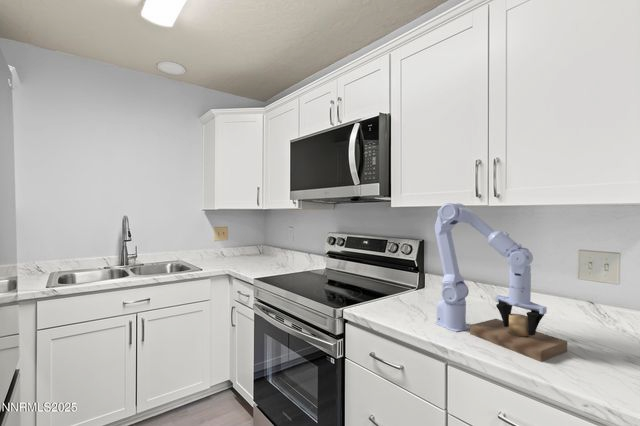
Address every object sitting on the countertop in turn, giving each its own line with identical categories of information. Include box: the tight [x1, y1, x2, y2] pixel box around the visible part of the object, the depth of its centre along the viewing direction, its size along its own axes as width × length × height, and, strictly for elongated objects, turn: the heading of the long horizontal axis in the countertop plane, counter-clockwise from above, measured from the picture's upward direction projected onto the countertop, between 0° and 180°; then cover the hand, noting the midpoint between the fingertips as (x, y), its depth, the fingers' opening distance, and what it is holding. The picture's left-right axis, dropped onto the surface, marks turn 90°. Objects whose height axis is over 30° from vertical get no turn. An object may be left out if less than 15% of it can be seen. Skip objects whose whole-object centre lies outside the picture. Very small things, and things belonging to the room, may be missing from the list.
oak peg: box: [509, 313, 529, 337], centre depth 100 cm, size 6×6×8 cm
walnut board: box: [469, 318, 568, 362], centre depth 101 cm, size 22×14×3 cm, turn 28°
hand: (519, 330), depth 100 cm, fingers open, 7 cm apart
